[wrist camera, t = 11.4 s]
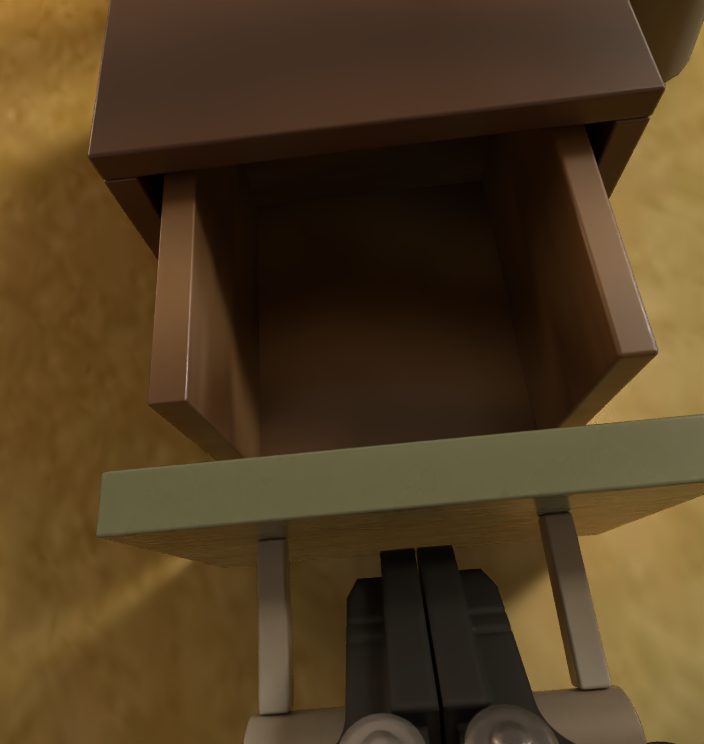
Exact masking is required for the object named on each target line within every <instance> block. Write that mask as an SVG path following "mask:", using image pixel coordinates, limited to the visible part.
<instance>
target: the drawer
mask: <svg viewBox="0 0 704 744" xmlns="http://www.w3.org/2000/svg"><path fill="white" fill-rule="evenodd" d="M657 354H658V348H657V345H656V342H655V339H654V336H653V333H652V330H651V327H650V324H649V321H648V318H647V315H646V312H645V309H644V306H643V302H642V299H641V296H640V293H639V290H638V287H637V284H636V281H635V278H634V275H633V272H632V269H631V266H630V263H629V260H628V257H627V254H626V251H625V248H624V245H623V242H622V239H621V236H620V233H619V229H618V226H617V223H616V220H615V217H614V214H613V211H612V208H611V205H610V202H609V199H608V196H607V193H606V190H605V187H604V184H603V181H602V178H601V175H600V172H599V169H598V166H597V163H596V160H595V156H594V153H593V150H592V147H591V144H590V141H589V138H588V135H587V132H586V129H585V126H584V124H580V125H572V126H563V127H555V128H546V129H538V130H529V131H521V132H512V133H504V134H495V135H487V136H478V137H470V138H461V139H453V140H444V141H436V142H427V143H419V144H410V145H402V146H393V147H385V148H376V149H368V150H359V151H351V152H342V153H334V154H325V155H317V156H308V157H300V158H291V159H283V160H274V161H266V162H257V163H249V164H240V165H232V166H223V167H215V168H206V169H198V170H189V171H181V172H172V173H165V174H164V188H163V201H162V215H161V229H160V243H159V257H158V271H157V285H156V298H155V312H154V326H153V340H152V354H151V368H150V382H149V395H148V405H149V406H150V407H151V408H153V409H154V410H155V411H156V412H157V413H159V414H160V415H161V416H162V417H164V418H165V419H166V420H167V421H168V422H170V423H171V424H172V425H173V426H175V427H176V428H177V429H178V430H179V431H181V432H182V433H183V434H184V435H186V436H187V437H188V438H189V439H190V440H192V441H193V442H194V443H195V444H197V445H198V446H199V447H200V448H201V449H203V450H204V451H205V452H206V453H208V454H209V455H210V456H211V457H212V458H214V459H215V460H216V461H211V462H201V463H191V464H180V465H170V466H160V467H149V468H139V469H129V470H118V471H108V472H104V473H102V477H101V487H100V497H99V507H98V517H97V527H96V537H98V538H101V539H105V540H109V541H114V542H118V543H122V544H126V545H130V546H135V547H139V548H143V549H147V550H151V551H156V552H160V553H164V554H168V555H172V556H177V557H181V558H185V559H189V560H193V561H198V562H202V563H206V564H210V565H214V566H219V567H223V568H225V567H237V566H248V565H257V595H258V699H259V713H255V714H253V715H252V716H251V717H250V718H249V721H248V724H247V727H246V731H245V735H244V741H243V744H337V742H338V741H339V739H340V736H341V734H342V732H343V728H344V724H345V706H343V707H331V708H318V709H305V710H292V709H293V707H294V683H293V651H292V620H291V588H290V562H293V561H304V560H315V559H327V558H338V557H349V556H360V555H372V554H380V551H383V550H395V549H407V548H414V550H415V551H417V547H428V546H440V545H452V547H462V546H473V545H484V544H495V543H507V542H518V541H529V540H540V539H542V542H543V547H544V552H545V557H546V562H547V567H548V571H549V576H550V581H551V586H552V591H553V596H554V601H555V605H556V610H557V615H558V620H559V625H560V630H561V635H562V640H563V644H564V649H565V654H566V659H567V664H568V669H569V674H570V678H571V683H572V685H573V686H575V687H577V688H573V689H561V690H548V691H535V692H532V693H533V696H534V699H535V702H536V704H537V707H538V709H539V711H540V712H541V714H542V716H543V717H544V718H545V720H546V721H547V722H548V724H549V725H550V726H551V727H552V728H553V729H554V730H556V731H557V732H558V733H559V734H561V735H562V736H563V737H565V738H566V739H568V740H570V741H571V742H573V743H575V744H646V743H647V742H646V738H645V734H644V731H643V728H642V725H641V723H640V720H639V717H638V715H637V713H636V710H635V708H634V706H633V704H632V703H631V701H630V699H629V697H628V696H627V694H626V693H625V692H624V691H623V689H621V688H620V687H618V686H615V685H612V686H611V681H610V676H609V672H608V668H607V663H606V659H605V655H604V650H603V646H602V642H601V637H600V633H599V629H598V624H597V620H596V616H595V611H594V607H593V602H592V598H591V594H590V589H589V585H588V581H587V576H586V572H585V568H584V563H583V559H582V555H581V550H580V546H579V542H578V537H577V536H585V535H597V534H600V533H603V532H606V531H608V530H611V529H614V528H616V527H619V526H622V525H624V524H627V523H630V522H632V521H635V520H638V519H640V518H643V517H646V516H648V515H651V514H654V513H656V512H659V511H662V510H664V509H667V508H670V507H672V506H675V505H678V504H680V503H683V502H686V501H688V500H691V499H694V498H696V497H699V496H702V495H704V414H698V415H688V416H677V417H667V418H657V419H646V420H636V421H625V422H615V423H605V424H594V425H586V424H587V423H588V422H589V421H590V420H591V419H592V418H593V417H594V416H595V415H596V414H597V413H598V412H599V411H600V410H601V409H602V408H603V407H604V406H605V405H606V404H607V403H608V402H609V401H610V400H611V399H612V398H613V397H614V396H615V395H616V394H617V393H618V392H619V391H620V390H621V389H622V388H623V387H624V386H626V385H627V384H628V383H629V382H630V381H631V380H632V379H633V378H634V377H635V376H636V375H637V374H638V373H639V372H640V371H641V370H642V369H643V368H644V367H645V366H646V365H647V364H648V363H649V362H650V361H651V360H652V359H653V358H654V357H655V356H656V355H657ZM291 710H292V711H291Z"/></svg>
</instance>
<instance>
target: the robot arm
mask: <svg viewBox="0 0 704 744" xmlns="http://www.w3.org/2000/svg"><path fill="white" fill-rule="evenodd" d="M380 558H381V572H382V577H374V578H362V579H357V580H356V582H355V584H354V586H353V588H352V590H351V592H350V594H349V596H348V597H347V626H346V642H347V644H346V705H345V724H344V728H343V732H342V734H341V736H340V739H339V741H338V742H337V744H575V743H573V742H571V741H570V740H568V739H566V738H565V737H563V736H562V735H561V734H559V733H558V732H557V731H556V730H554V729H553V728H552V727H551V726H550V725H549V724H548V722H547V721H546V720H545V718H544V717H543V716H542V714H541V712H540V711H539V709H538V707H537V704H536V702H535V699H534V696H533V693H532V690H531V687H530V684H529V681H528V678H527V675H526V672H525V669H524V666H523V663H522V660H521V657H520V654H519V651H518V648H517V645H516V642H515V639H514V636H513V633H512V631H511V626H510V623H509V620H508V617H507V614H506V613H505V609H504V605H503V602H502V599H501V596H500V593H499V590H498V587H497V586H496V584H495V583H494V582H493V581H492V580H491V579H490V578H489V577H488V576H487V575H486V574H485V572H484V571H483V570H482V569H481V568H480V569H468V570H458V567H457V563H456V559H455V555H454V551H453V547H452V545H440V546H428V547H417V560H418V569H417V562H416V556H415V550H414V548H407V549H395V550H383V551H380ZM418 573H419V575H418ZM646 744H674V743H669V742H650V743H646Z"/></svg>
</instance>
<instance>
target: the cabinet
mask: <svg viewBox="0 0 704 744" xmlns="http://www.w3.org/2000/svg"><path fill="white" fill-rule="evenodd" d="M664 91H665V84H664V81H663V79H662V77H661V74H660V72H659V69H658V67H657V65H656V62H655V60H654V58H653V55H652V53H651V51H650V48H649V46H648V43H647V41H646V39H645V36H644V34H643V32H642V29H641V27H640V25H639V22H638V20H637V17H636V15H635V13H634V10H633V8H632V6H631V3H630V1H629V0H110V4H109V11H108V18H107V25H106V31H105V38H104V45H103V52H102V59H101V66H100V73H99V79H98V86H97V93H96V100H95V107H94V114H93V121H92V128H91V134H90V141H89V148H88V158H89V160H90V161H91V163H92V164H93V166H94V167H95V169H96V170H97V171H98V173H99V174H100V176H101V177H102V179H104V181H105V184H106V185H107V187H108V188H109V190H110V191H111V193H112V194H113V196H114V197H115V199H116V200H117V201H118V203H119V204H120V206H121V207H122V209H123V210H124V212H125V213H126V215H127V216H128V217H129V219H130V220H131V222H132V223H133V225H134V226H135V228H136V229H137V230H138V232H139V233H140V235H141V236H142V238H143V239H144V241H145V242H146V244H147V245H148V246H149V248H150V249H151V251H152V252H153V254H154V255H155V257H156V258H157V260H158V257H159V243H160V229H161V215H162V201H163V188H164V174H165V173H172V172H181V171H189V170H198V169H206V168H215V167H223V166H232V165H240V164H249V163H257V162H266V161H274V160H283V159H291V158H300V157H308V156H317V155H325V154H334V153H342V152H351V151H359V150H368V149H376V148H385V147H393V146H402V145H410V144H419V143H427V142H436V141H444V140H453V139H461V138H470V137H478V136H487V135H495V134H504V133H512V132H521V131H529V130H538V129H546V128H555V127H563V126H572V125H580V124H584V126H585V129H586V132H587V135H588V138H589V141H590V144H591V147H592V150H593V153H594V156H595V160H596V163H597V166H598V169H599V172H600V175H601V178H602V181H603V184H604V187H605V190H606V193H607V196H608V199H609V198H610V196H611V194H612V192H613V190H614V188H615V186H616V184H617V182H618V180H619V178H620V176H621V174H622V172H623V170H624V169H625V167H626V165H627V163H628V161H629V159H630V157H631V155H632V153H633V151H634V149H635V147H636V145H637V143H638V141H639V139H640V137H641V135H642V133H643V132H644V130H645V128H646V126H647V124H648V122H649V119H650V116H651V115H652V114H653V112H654V110H655V108H656V106H657V104H658V102H659V100H660V98H661V96H662V94H663V92H664Z"/></svg>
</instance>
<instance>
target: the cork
mask: <svg viewBox="0 0 704 744" xmlns="http://www.w3.org/2000/svg"><path fill="white" fill-rule="evenodd" d="M629 1H630V3H631V6H632V8H633V10H634V13H635V15H636V17H637V20H638V22H639V25H640V27H641V29H642V32H643V34H644V36H645V39H646V41H647V43H648V46H649V48H650V51H651V53H652V55H653V58H654V60H655V62H656V65H657V67H658V69H659V72H660V74H661V77H662V79H663V81H664V82H666V81H667V80H669V79H670V78H672V77H674V76H675V75H677V74H679V73H680V71H681V70H682V69H683V68H684V66H685V65H686V64H687V62H688V61H689V59H690V56H691V54H692V51H693V48H694V46H695V43H696V40H697V37H698V35H699V32H700V29H701V27H702V24H703V21H704V0H629Z"/></svg>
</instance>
